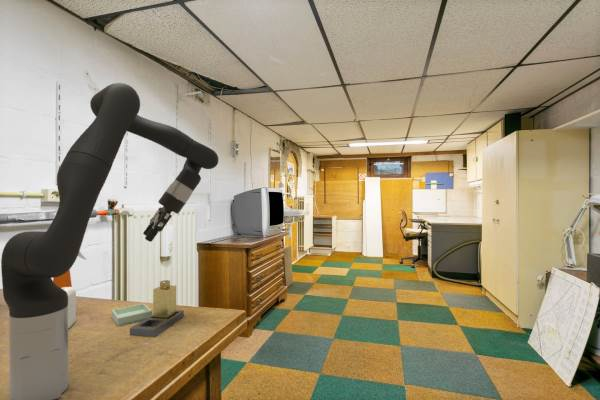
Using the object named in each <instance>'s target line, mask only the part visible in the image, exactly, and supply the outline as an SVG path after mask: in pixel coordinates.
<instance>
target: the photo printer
mask: <svg viewBox="0 0 600 400" xmlns="http://www.w3.org/2000/svg"><path fill="white" fill-rule="evenodd" d="M61 289H63V290H65V291H66V292H67V294H68V329H70V328H71V327H72V326H73V325H74V323H75V322H76V320H77V296H76V295H77V292H76V289H75V288H74V287H73V286H72V287H63V288H61Z"/></svg>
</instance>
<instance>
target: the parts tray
mask: <svg viewBox="0 0 600 400" xmlns="http://www.w3.org/2000/svg"><path fill="white" fill-rule="evenodd" d="M152 315H153V309H151V308H149V307H148V305H146V304H145V303H138V304H134V305H128V306H125V307H120V308H119V307H118V308H114V309H111V318H112V320H113V321H114V323H115V325H116V326H117V327H121V326H125V325H129V324H135V323H139V322H142V321H143V320H145V319H147V318H148V317H150V316H152Z"/></svg>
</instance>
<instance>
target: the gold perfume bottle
mask: <svg viewBox="0 0 600 400" xmlns="http://www.w3.org/2000/svg"><path fill="white" fill-rule="evenodd" d="M152 290H153V291H152V292H153V293H152V294H153V296H152V297H153V300H152V301H153V302H152V303H153V305H152V306H153V307H152V308H153V309H152V315H153V318H158V319H169V318H171V317H172V316H174V315H175V314H176V310H177V285H171V280H169V279H166V280H165V279H163V280H160V281H159V286H158V287H156V288H153V289H152Z"/></svg>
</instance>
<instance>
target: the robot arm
mask: <svg viewBox="0 0 600 400" xmlns="http://www.w3.org/2000/svg"><path fill="white" fill-rule="evenodd" d="M89 103H90V109H91V112H92V113H93V114H94V115H95V118H94V120H93V122H91V124H90V125H89V126H88V127H87V128H86V129H85V130H84V131H83V132H82V134H80V136H79V137H77V139H76V140H75V141H74V143H73V144H72V145H71V146H70V148H69V149H68V151H67V152H66V154H65V157H64V158H63V160H62V162H61V164H60V166H59V168H58V170H57V174H56V184H57V185H56V186H57V192H58V198H59V203H58V208H57V210H56V214H55V216H54V217H53V219H52V221H51V224H50V225H49V227H48V228H47V230H46V231H42V230H41V231H37V230H35V231H32V230H31V231H23V232H18V233H17V234H15V235H13V236H12V237H11V238H9V239H8V241H7V242H6V243H5V245H4V247H3V249H2V253H1V260H0V261H1V262H0V263H1V269H0V270H1V282H2V296H3V300H4V302H5V303H6V305H7V308H8V313H9V314H8V317H9V318H8V320H9V322H8V323H9V324H8V325H9V331H8V338H9V339H8V340H9V341H8V343H9V345H8V348H9V351H8V353H9V357H8V359H9V366H8V367H9V368H8V369H9V400H57V399H60V398H61V397H62V395H63V393H64V392H65V391H66V390H67V389H68V387H69V328H68V294H67V292H66V291H65V290H63V289H61V288H59V287H58V286H57V285H56V284H55V283H54V282H53V280H52V279H53V277H59V276H61V275H63V274H65V273H66V272H67V271H68V270H69V269H70V270H71V269H72V266H73V265H74V264H75V262H76V260H77V258H78V257H79V256H78V253H79V251H80V252H81V246H82V244H83V240H84V239H85V238H84V237H85V234H86V231H87V227H88V224H89V222H90V219H91V215H92V213H93V210H94V208H95V206H96V203H97V201H98V198H99V196H100V193H101V191H102V189H103V187H104V185H105V183H106V181H107V179H108V177H109V174H110V171H111V170H112V167H113V165H114V162H115V159H116V157H117V155H118V152H119V149H120V147H121V144H122V142H123V139H124V137H125V135H126V134H127V132H129V133H130V134H133V135H136V136H137V137H138V136H139V137H141V138H144V139H146V140H148V141H151V142H153V143H155V144H158V145H159V146H161V147H163V148H165V149H167V150H169V151H170V152H173V153H174V154H176V155H177V156H180V157H182V158H185V161H184V164H183V167H182V170H181V171H180V172H179V174H177V176H176V177H175V179H174V180H173V181H172V182H171V184H170V185H169V186H168V187H167V189H166V190H165V191H164V193H163V194H162V195H161V197H160V198H159V200H158V204H159V205H161V206H162V207H161V206H160V207H159V208H158V210H156V212H155V213H154V215H153V216H152V218H150V219H149V224H148V225H147V227H146V228H145V230H144V231H143V235H144V236H145V237H144V239H145V241H148V242H150V243H151V242H153V241H154V239H155V238H156V236H157V235H158V233H161V232H162V231H163V230H164V228H165V227H166V225H167V224H168V222H169V221H170V220H171V218H172V213H175V214H179V213H180V212H181V210H183V208H184V207H185V205H186V204H187V202H188V201H189V199H190V198H191V196H192V194H193V192H194V191H195V190H196V189H197V187H198V185H199V184H200V182H201V180H202V177H201V175H200V172H201V170H202V169H204V170H212V169H215V168H216V167H217V166H218V164H219V156H218V154H217V152H216V151H215V150H214V149H212V148H210V147H208V146H206V145H205V144H202V143H200V142H198V141H197V140H195V139H193V138H192V137H190V135H188V134H186V133H185V132H183V131H181V130H179V129H178V128H176V127H174V126H171V125H169V124H165V123H162V122H157V121H154V120H151V119H149V118H145V117H143V116H141V115H139V112H140V108H141V100H140V96H139V94H138V92H137V90H136V89H134V87H132V86H131V85H129V84H127V83H123V82H116V83H112V84H109V85H106V87H104V88H103V89H101V90H99V91H97V93H95V94H94V95H93V96H92V97H91V98H90V102H89Z"/></svg>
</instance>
